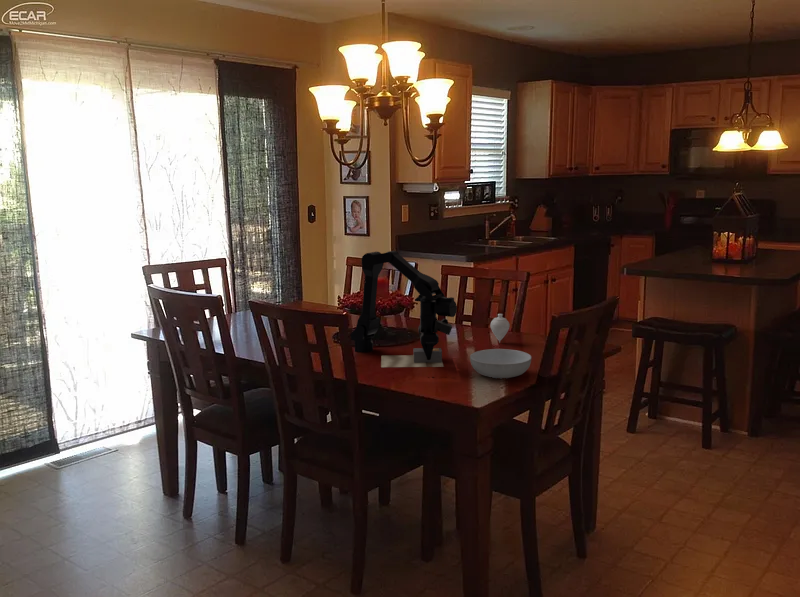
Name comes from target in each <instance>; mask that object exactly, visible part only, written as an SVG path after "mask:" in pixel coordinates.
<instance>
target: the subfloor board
mask: <svg viewBox="0 0 800 597" xmlns="http://www.w3.org/2000/svg"><path fill="white" fill-rule="evenodd" d="M380 367H381V368H440V367H441V368H443V367H445V366H444V363H443V361H442V362H425V363H414V354H411V355H409V354H407V355H402V354H399V355H398V354H397V355H381V360H380Z"/></svg>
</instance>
